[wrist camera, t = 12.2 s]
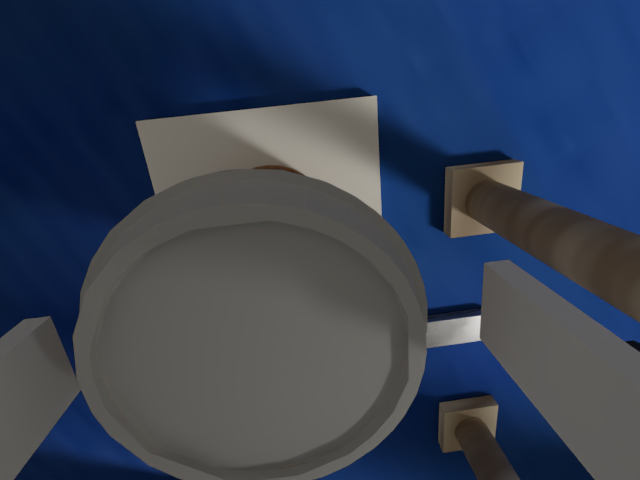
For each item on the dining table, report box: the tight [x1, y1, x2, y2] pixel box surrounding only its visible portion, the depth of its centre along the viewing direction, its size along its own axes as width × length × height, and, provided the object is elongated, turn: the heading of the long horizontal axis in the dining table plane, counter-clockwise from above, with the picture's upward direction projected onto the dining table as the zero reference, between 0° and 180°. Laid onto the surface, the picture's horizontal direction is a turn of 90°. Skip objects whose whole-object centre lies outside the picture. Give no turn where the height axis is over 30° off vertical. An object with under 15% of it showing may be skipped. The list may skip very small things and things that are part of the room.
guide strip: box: [426, 308, 481, 348], centre depth 24 cm, size 14×4×1 cm, turn 96°
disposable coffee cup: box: [73, 165, 428, 480], centre depth 15 cm, size 10×10×12 cm
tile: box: [135, 96, 381, 215], centre depth 21 cm, size 12×12×1 cm
